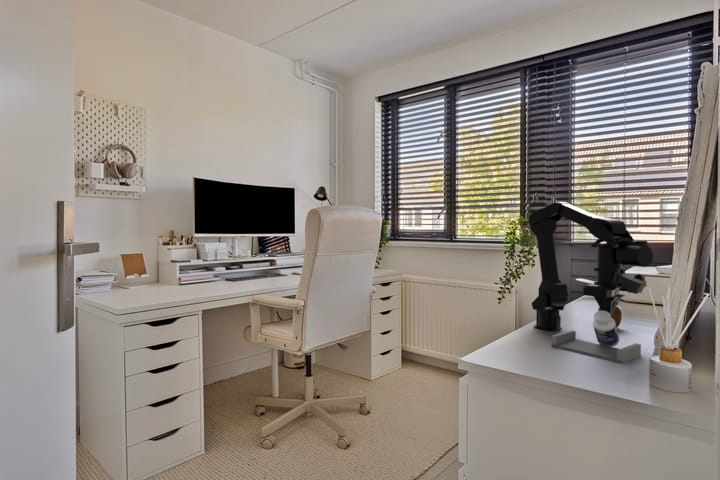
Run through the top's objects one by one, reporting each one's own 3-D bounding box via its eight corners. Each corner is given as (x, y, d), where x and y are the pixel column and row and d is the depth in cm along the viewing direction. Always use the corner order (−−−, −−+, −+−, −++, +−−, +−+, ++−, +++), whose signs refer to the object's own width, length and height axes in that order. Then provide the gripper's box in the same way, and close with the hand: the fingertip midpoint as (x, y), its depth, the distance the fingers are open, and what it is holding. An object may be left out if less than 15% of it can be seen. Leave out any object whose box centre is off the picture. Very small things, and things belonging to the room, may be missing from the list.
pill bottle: (598, 348, 114) (591, 323, 110) (596, 334, 118) (590, 309, 114) (620, 347, 111) (614, 321, 107) (618, 333, 115) (612, 307, 111)
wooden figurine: (594, 326, 139) (595, 282, 138) (605, 324, 141) (606, 281, 141) (613, 330, 133) (614, 285, 132) (624, 329, 135) (625, 284, 135)
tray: (551, 346, 114) (551, 335, 114) (571, 340, 120) (571, 330, 120) (622, 363, 99) (622, 351, 99) (640, 355, 106) (640, 344, 106)
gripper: (627, 267, 102) (626, 329, 102) (655, 264, 113) (654, 320, 113) (581, 264, 111) (580, 321, 111) (611, 262, 122) (610, 313, 122)
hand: (608, 319), depth 114 cm, fingers closed
